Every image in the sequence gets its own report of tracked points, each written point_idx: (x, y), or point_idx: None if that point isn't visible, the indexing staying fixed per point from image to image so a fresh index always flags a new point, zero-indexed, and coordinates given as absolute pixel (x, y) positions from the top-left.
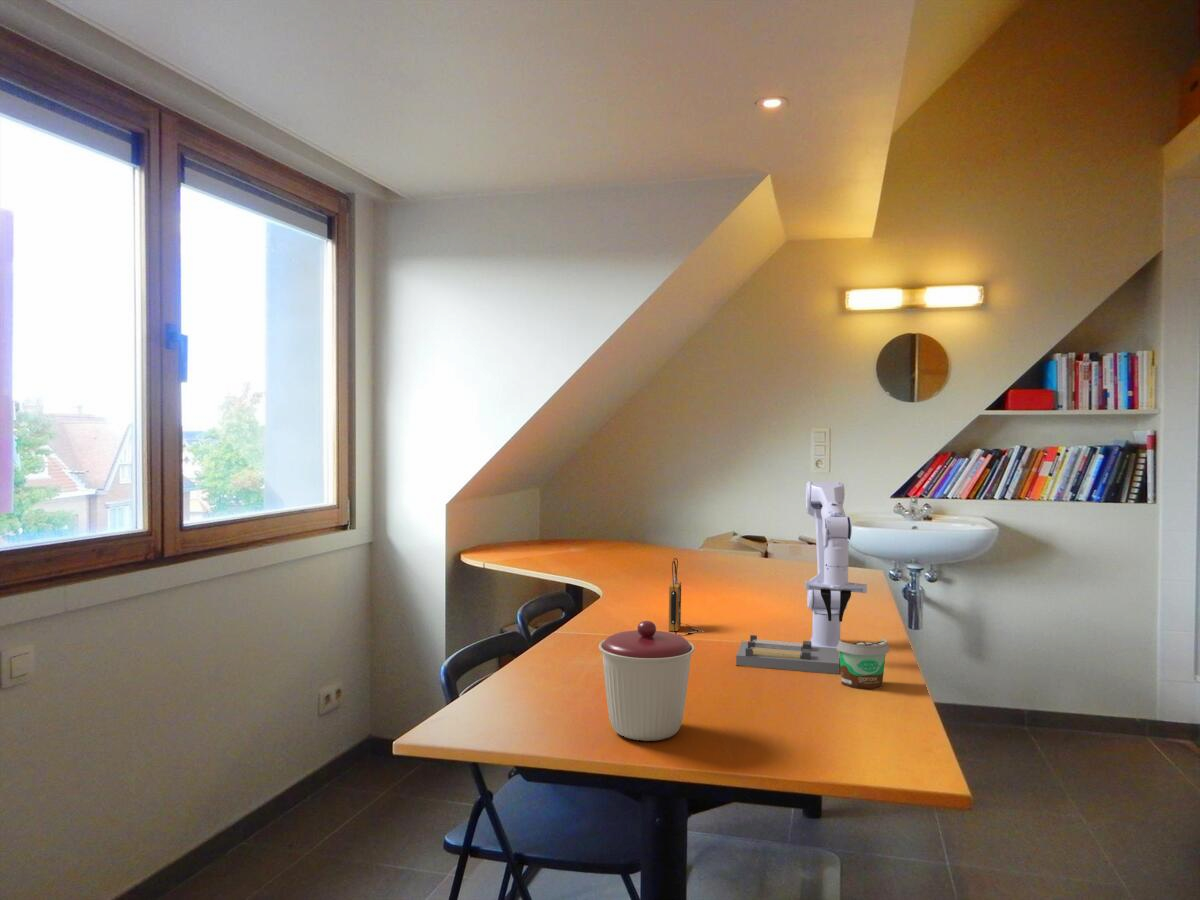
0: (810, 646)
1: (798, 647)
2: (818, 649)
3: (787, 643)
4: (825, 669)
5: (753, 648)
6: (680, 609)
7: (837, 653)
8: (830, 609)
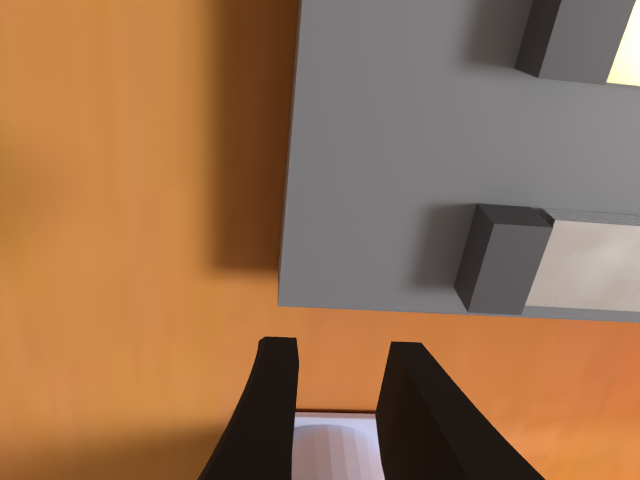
0: (494, 218)
1: (569, 216)
2: (415, 256)
3: (627, 274)
4: None
5: None
6: None
7: (297, 185)
8: (457, 450)
